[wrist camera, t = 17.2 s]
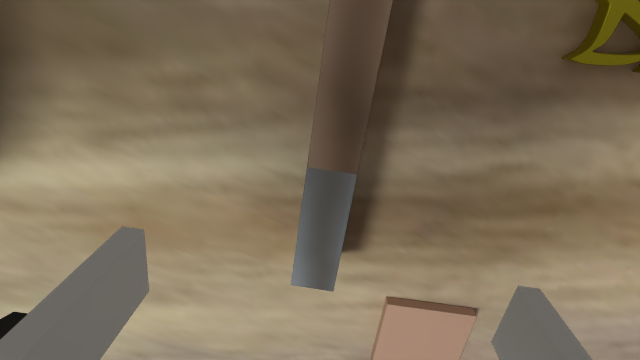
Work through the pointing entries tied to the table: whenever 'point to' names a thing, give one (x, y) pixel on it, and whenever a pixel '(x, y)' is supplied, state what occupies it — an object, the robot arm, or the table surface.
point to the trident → (609, 34)
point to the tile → (421, 330)
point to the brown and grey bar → (338, 135)
